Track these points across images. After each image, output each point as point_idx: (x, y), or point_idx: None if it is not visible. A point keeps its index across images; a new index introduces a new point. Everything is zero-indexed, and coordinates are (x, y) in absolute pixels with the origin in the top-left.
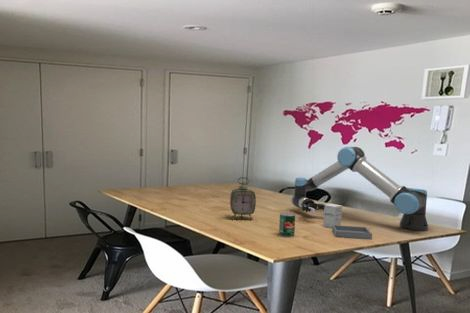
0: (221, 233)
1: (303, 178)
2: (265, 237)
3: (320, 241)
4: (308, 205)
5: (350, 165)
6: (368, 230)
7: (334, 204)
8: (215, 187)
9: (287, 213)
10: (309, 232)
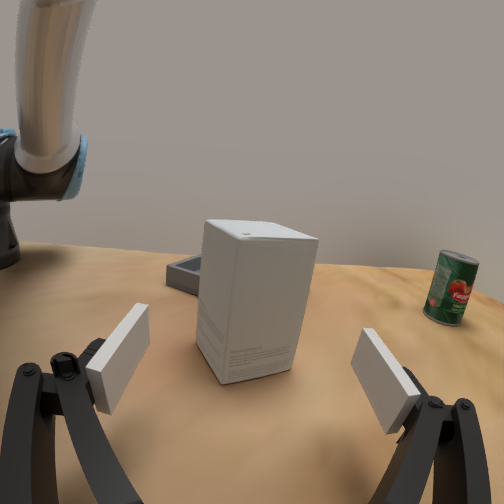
0: None
1: None
2: (475, 312)
3: (360, 284)
4: (408, 499)
5: None
6: (197, 256)
7: (237, 227)
8: None
9: (464, 261)
10: (380, 324)
